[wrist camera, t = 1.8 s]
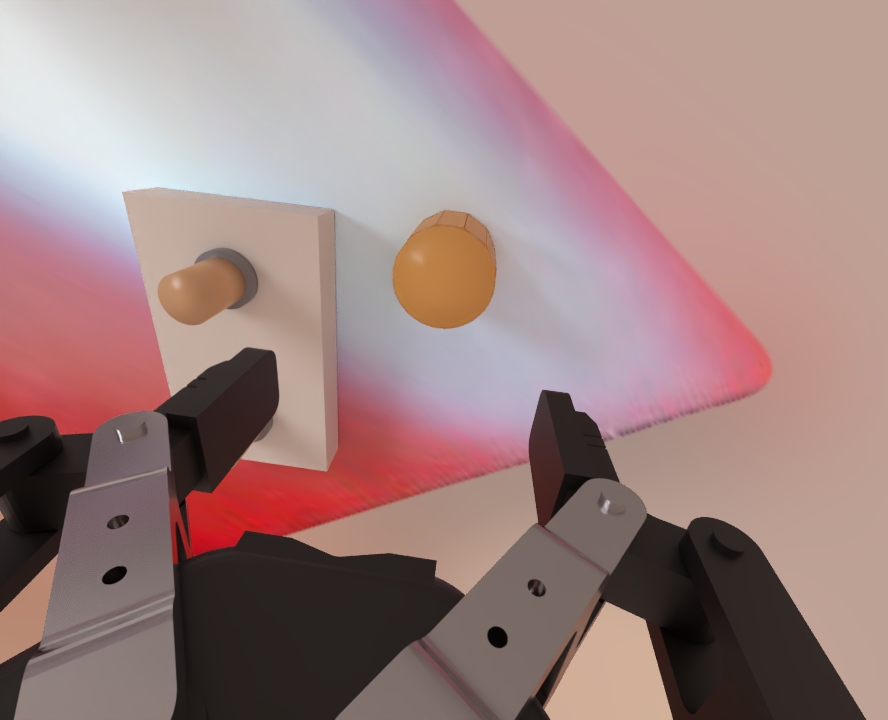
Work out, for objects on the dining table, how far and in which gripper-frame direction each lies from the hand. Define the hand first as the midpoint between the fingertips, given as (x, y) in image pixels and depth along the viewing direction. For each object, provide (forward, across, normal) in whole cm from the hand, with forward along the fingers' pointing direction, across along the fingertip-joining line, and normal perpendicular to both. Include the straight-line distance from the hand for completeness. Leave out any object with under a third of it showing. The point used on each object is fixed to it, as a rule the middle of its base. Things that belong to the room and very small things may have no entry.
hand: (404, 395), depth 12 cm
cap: (+18, 0, 0) cm, 18 cm away
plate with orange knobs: (+18, +14, +8) cm, 24 cm away
